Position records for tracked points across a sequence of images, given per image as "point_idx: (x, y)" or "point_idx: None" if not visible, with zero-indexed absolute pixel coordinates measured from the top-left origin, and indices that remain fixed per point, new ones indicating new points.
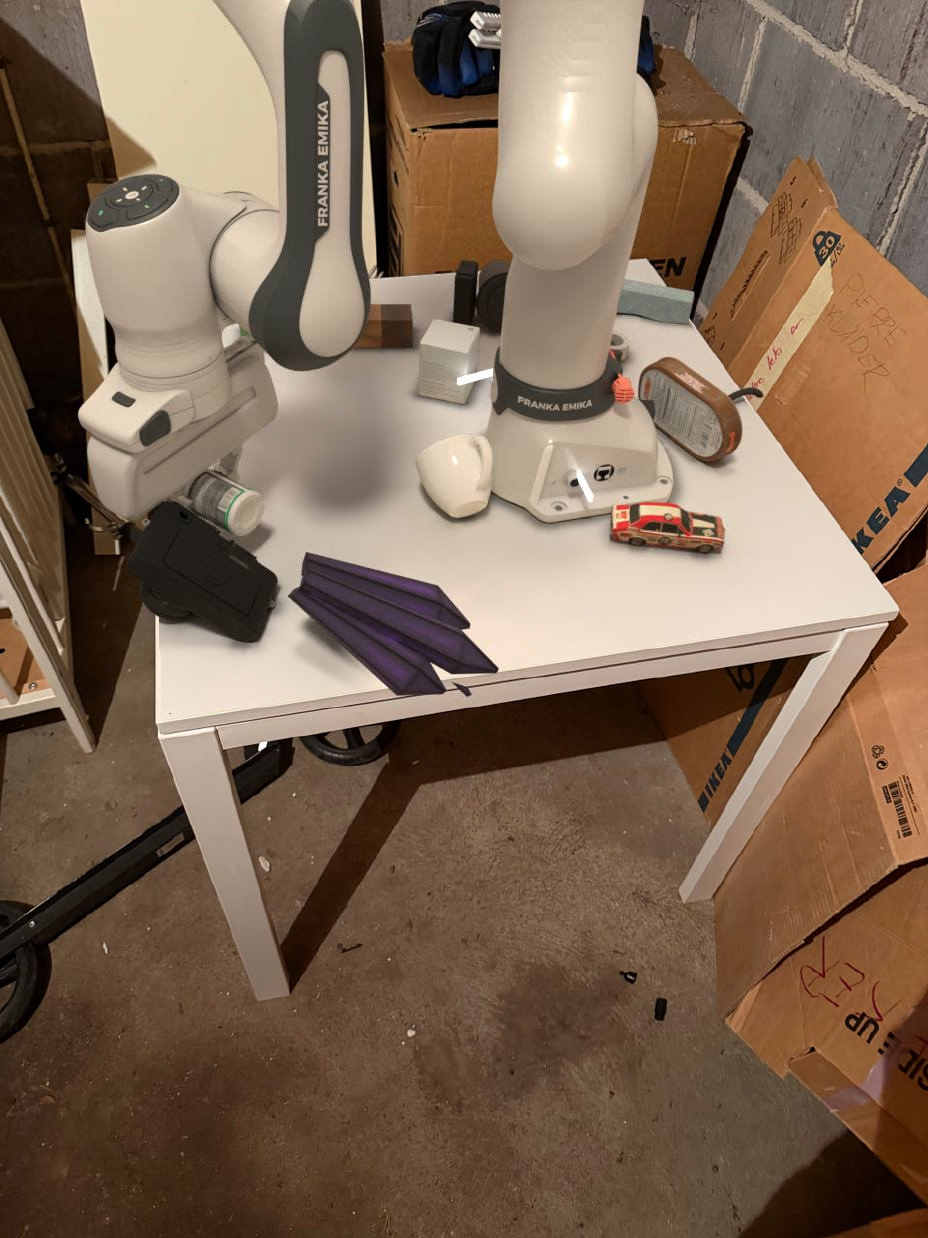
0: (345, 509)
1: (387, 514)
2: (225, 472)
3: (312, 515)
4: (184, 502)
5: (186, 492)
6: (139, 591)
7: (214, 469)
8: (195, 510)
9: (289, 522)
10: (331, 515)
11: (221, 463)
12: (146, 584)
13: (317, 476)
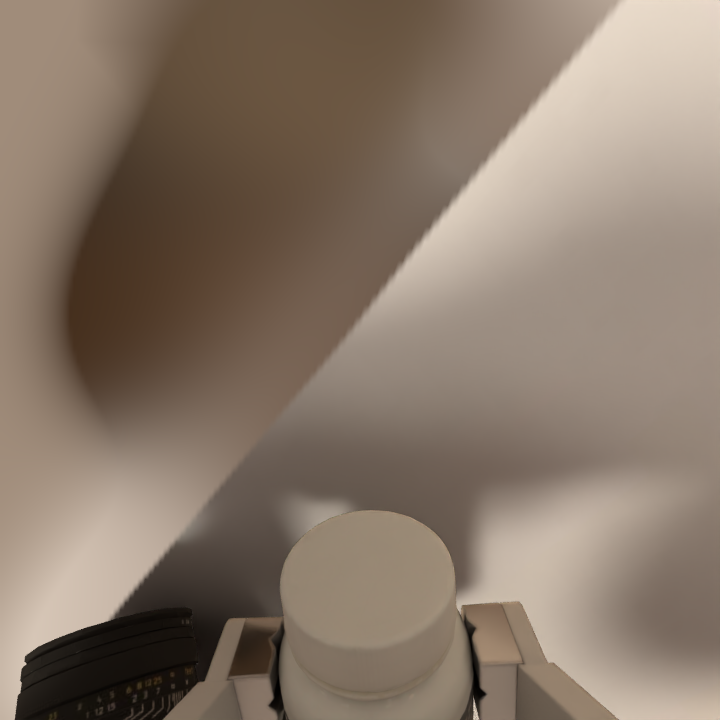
0: (635, 647)
1: (668, 709)
2: (492, 706)
3: (574, 613)
4: (248, 716)
5: (285, 705)
6: (25, 656)
7: (480, 664)
8: None
9: (521, 594)
10: (598, 639)
11: (525, 683)
12: (16, 715)
13: (716, 534)
